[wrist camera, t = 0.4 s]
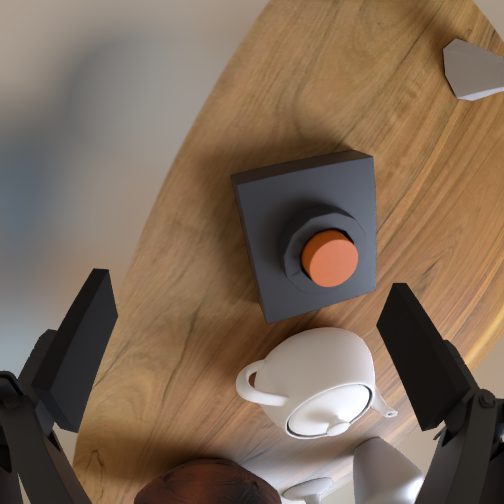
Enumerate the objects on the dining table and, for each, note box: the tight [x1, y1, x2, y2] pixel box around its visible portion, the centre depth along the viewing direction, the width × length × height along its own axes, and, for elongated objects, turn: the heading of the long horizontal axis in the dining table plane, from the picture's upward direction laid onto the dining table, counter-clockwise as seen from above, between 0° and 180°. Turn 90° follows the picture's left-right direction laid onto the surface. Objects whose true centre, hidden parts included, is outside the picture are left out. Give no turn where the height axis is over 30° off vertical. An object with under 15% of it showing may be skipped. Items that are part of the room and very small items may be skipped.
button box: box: [231, 150, 376, 324], centre depth 26 cm, size 13×11×5 cm
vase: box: [353, 437, 424, 504], centre depth 43 cm, size 14×14×25 cm
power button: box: [302, 230, 358, 287], centre depth 23 cm, size 4×4×2 cm
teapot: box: [236, 327, 398, 439], centre depth 31 cm, size 22×14×11 cm, turn 62°
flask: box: [443, 38, 504, 101], centre depth 19 cm, size 7×7×10 cm
